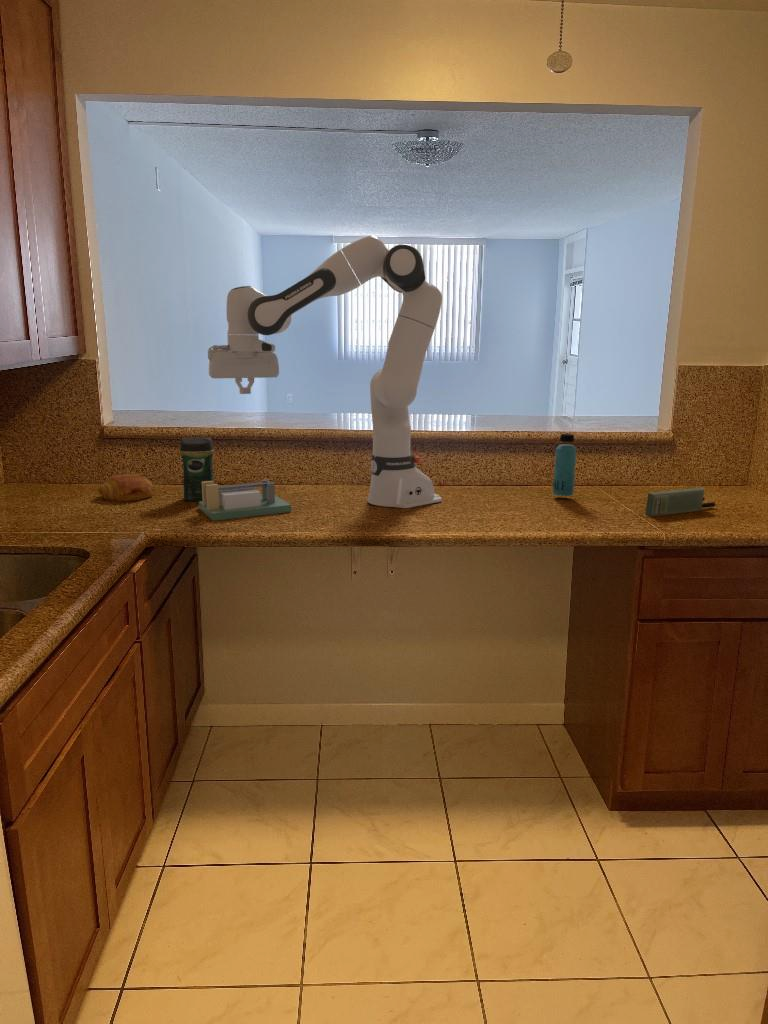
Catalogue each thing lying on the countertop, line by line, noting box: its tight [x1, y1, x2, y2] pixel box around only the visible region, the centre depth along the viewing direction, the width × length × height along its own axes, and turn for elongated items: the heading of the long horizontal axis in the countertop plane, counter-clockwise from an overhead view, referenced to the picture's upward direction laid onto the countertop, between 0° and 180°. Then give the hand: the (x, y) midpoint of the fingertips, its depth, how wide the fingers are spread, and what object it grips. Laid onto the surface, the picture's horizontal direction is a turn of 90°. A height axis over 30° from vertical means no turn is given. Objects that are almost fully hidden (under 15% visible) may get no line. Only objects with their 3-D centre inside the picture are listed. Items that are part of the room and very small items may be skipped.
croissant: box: [98, 473, 154, 503], centre depth 209 cm, size 14×16×8 cm
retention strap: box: [218, 479, 272, 490], centre depth 193 cm, size 18×3×2 cm, turn 118°
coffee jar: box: [179, 436, 216, 502], centre depth 205 cm, size 10×8×19 cm
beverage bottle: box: [552, 433, 578, 497], centre depth 211 cm, size 6×7×20 cm
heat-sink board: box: [198, 479, 292, 522], centre depth 194 cm, size 22×15×9 cm
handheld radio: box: [644, 486, 716, 517], centre depth 198 cm, size 7×3×25 cm
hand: (245, 393), depth 203 cm, fingers closed
